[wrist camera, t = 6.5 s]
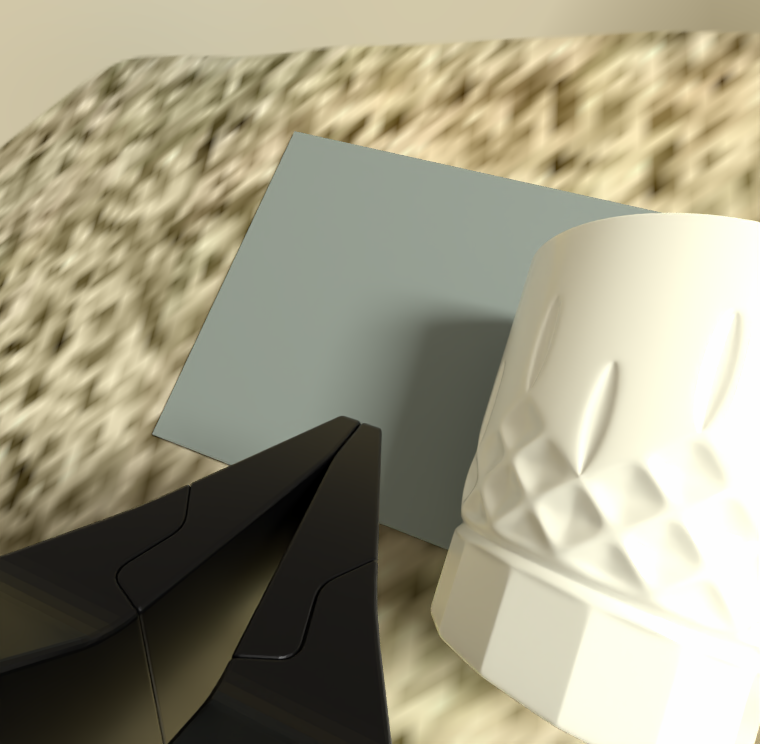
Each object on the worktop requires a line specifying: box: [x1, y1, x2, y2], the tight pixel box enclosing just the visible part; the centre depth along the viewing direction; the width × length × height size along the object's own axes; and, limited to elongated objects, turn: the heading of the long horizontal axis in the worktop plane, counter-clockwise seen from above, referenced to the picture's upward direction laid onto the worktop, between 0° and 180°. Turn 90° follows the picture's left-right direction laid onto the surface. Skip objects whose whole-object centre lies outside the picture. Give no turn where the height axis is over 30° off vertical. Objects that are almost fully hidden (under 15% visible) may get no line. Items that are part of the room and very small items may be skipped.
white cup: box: [431, 213, 760, 744], centre depth 12 cm, size 8×8×10 cm
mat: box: [152, 132, 661, 550], centre depth 18 cm, size 14×18×1 cm
